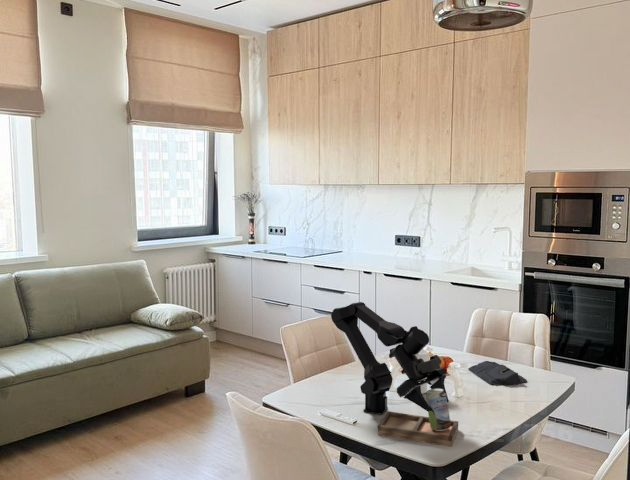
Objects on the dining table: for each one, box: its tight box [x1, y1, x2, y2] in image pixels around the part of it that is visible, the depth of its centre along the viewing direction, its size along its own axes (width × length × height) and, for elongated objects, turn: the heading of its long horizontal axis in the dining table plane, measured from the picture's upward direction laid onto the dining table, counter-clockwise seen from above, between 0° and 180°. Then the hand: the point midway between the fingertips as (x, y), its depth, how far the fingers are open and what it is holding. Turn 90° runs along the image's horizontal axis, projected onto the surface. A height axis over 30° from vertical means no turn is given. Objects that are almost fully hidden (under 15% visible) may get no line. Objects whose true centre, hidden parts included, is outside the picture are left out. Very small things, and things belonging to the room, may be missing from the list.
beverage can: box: [425, 388, 451, 431], centre depth 173 cm, size 6×7×12 cm
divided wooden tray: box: [377, 411, 459, 447], centre depth 175 cm, size 22×12×3 cm, turn 68°
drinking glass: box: [415, 348, 430, 395], centre depth 208 cm, size 7×7×15 cm
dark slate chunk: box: [467, 360, 528, 387], centre depth 225 cm, size 15×22×5 cm
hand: (438, 406), depth 171 cm, fingers open, 9 cm apart
